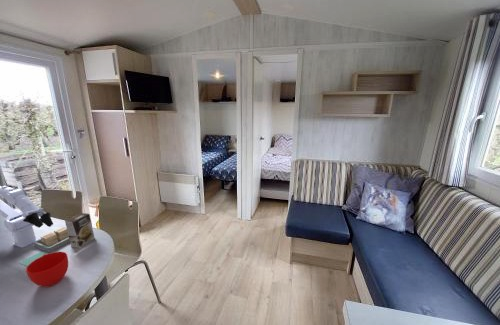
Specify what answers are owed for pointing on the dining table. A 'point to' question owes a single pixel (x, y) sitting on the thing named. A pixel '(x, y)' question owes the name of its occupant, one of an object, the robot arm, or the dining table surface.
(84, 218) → the coffee box
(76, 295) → the dining table surface
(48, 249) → the parts bin
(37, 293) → the dining table surface
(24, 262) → the teal mat
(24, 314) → the dining table surface
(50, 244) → the labelled block
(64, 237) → the plain block
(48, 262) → the red mixing bowl
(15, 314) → the dining table surface
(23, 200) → the robot arm
